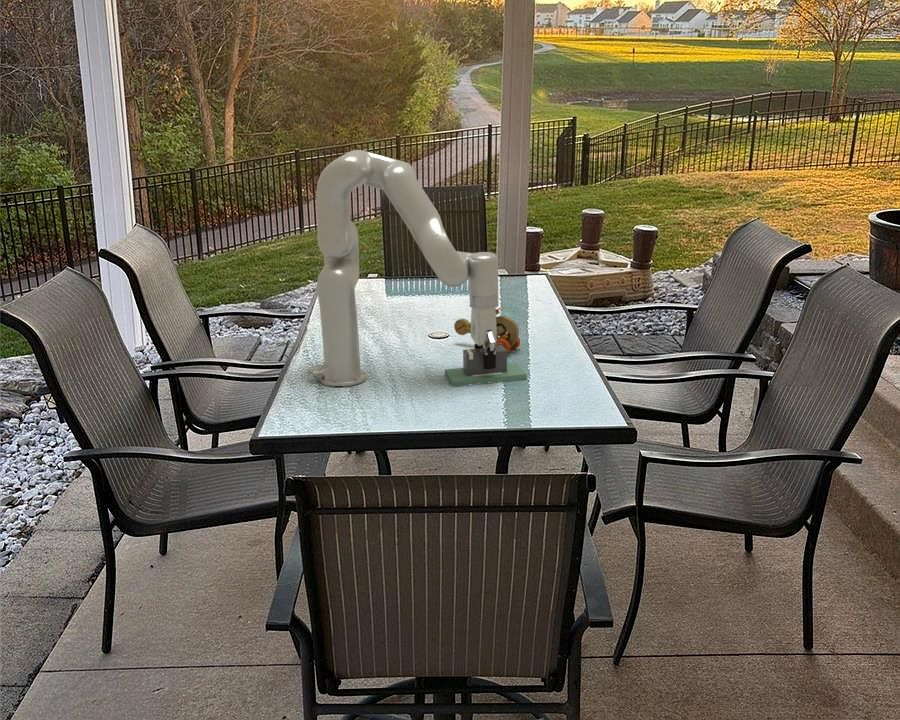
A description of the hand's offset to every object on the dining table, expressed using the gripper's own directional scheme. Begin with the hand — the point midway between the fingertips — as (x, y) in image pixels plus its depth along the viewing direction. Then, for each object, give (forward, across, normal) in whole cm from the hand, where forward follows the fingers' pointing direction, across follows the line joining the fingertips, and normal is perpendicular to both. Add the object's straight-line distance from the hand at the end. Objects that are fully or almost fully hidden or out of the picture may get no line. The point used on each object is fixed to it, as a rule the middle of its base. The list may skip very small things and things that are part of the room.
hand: (485, 362), depth 232 cm
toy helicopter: (+4, -23, +7) cm, 25 cm away
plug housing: (+2, 0, 0) cm, 2 cm away
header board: (+4, 0, 0) cm, 4 cm away
